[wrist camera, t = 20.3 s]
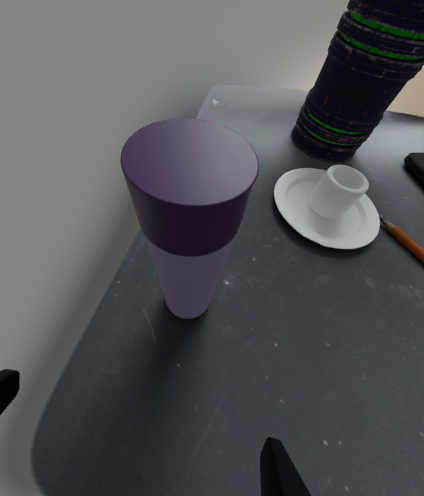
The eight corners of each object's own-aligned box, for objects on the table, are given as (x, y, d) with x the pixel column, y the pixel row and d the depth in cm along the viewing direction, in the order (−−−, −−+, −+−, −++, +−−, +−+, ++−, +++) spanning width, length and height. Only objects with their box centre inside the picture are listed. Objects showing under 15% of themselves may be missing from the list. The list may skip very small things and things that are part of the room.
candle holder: (310, 266, 20) (339, 242, 16) (254, 181, 25) (265, 148, 21) (397, 236, 23) (437, 210, 19) (330, 166, 28) (352, 135, 24)
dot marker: (198, 330, 16) (229, 230, 4) (155, 308, 16) (86, 169, 5) (218, 287, 18) (274, 144, 6) (179, 268, 18) (168, 105, 7)
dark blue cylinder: (368, 156, 30) (499, 2, 18) (317, 168, 28) (430, -6, 15) (325, 120, 35) (406, -25, 22) (278, 127, 32) (339, -35, 19)
